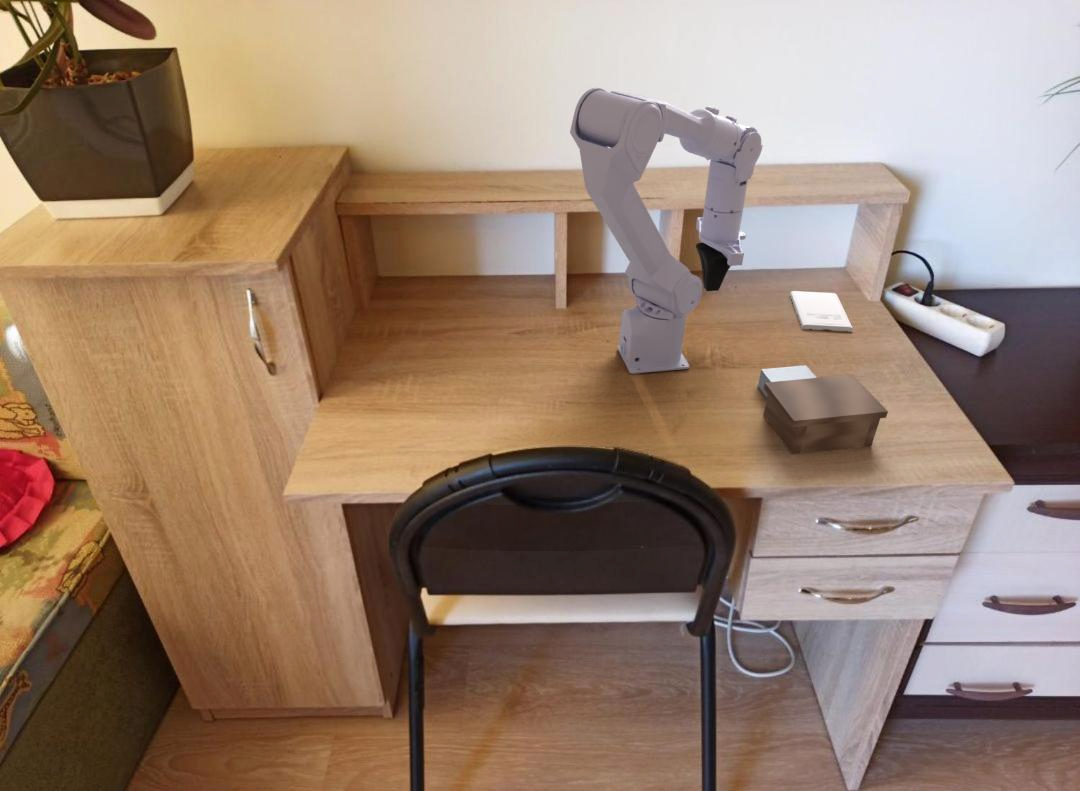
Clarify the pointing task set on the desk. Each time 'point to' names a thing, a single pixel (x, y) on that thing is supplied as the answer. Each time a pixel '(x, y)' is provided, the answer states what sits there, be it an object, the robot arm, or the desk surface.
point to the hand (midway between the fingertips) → (711, 289)
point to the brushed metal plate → (783, 375)
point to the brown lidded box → (822, 413)
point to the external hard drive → (820, 311)
